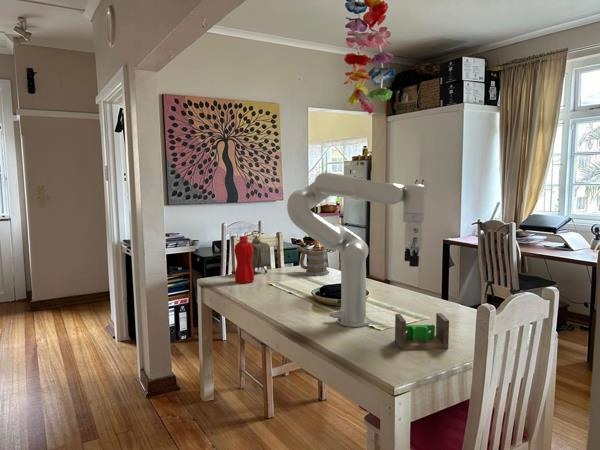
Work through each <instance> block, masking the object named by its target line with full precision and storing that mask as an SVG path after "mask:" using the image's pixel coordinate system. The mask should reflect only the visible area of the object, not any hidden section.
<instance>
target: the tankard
mask: <svg viewBox="0 0 600 450" xmlns="http://www.w3.org/2000/svg"><path fill="white" fill-rule="evenodd" d="M296 251H297V252H299V251H300V252H301V254H300V258H299V265H300V268H301V269H303V270H305V274H306V275H308V276H313V277H320V276H322V277H323V276H326V275H329V274H330V271H329V270H328V269H327V268H328V266H329V265H328V264H329V263H328V262H327V259H328V257H329V256H328V253H327V250H326V248H310V249H306V248H305V249H304V248H303V247H301V246H299V247H296ZM305 257H306V259H307V262H306V265H305V264H304V262H305Z"/></svg>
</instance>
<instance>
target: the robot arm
mask: <svg viewBox="0 0 600 450" xmlns="http://www.w3.org/2000/svg"><path fill="white" fill-rule="evenodd" d="M329 197H335V198H336V197H337V198H338V197H339V198H342V199H343V198H344V199H345V198H346V199H350V200H357V201H363V202H364V201H366V202H370V203H378V204H384V205H391V206H392V205H397V204H399V203H403V204H402V222H403V223H405V224H404V235H403V236H404V241H403V242H404V246H405V247H404V262H409V264H408V265H409V267H411V268H412V267H414V268H415V267H416V268H417V267H419V266H420V250H422V249H423V224H422V223H424V221H425V220H424V219H425V202H426V200H425V199H426V187H425V185H424V184H419V183H418V184H417V183H411V184H410V183H409V184H408V183H407V184H401V183H397V182H393V183H389V182H383V181H377V180H369V179H368V180H367V179H365V178H363V177H360V176H355V175H354V176H353V175H345V174H338V173H332V172H322V173H319V174H318V175H317V176H316V177H315V179H314V181H313V182H312V183H311V184H309V185H308V186H307V187H304V189H303V188H302V189H299V190H295V191H293V192H292V193H291V194H290V195H289V196H288V200H287V203H286V204H287V205H286V206H287V207H286V209H287V214H288V217H289V219H290V220H291V221H292V223H293V224H294V225H295V226H296V227H297V228H299V229H300V230H301V231H302V232H304V233H306V235H308V236H309V237H310V238H311V239H313V240H314V241H316V242H317V243H319V244H320V245H321V246H322V247H324V249H327V250H331V251H332V250H336V251H338V252H339V253H340V254H339V255H340V257H339V258H340V259H339V260H340V261H339V263H340V276H341V277H340V279H341V280H340V283H341V286H340V287H341V288H340V289H341V291H340V294H341V296H340V297H341V299H340V300H341V302H340V305H341V308H339V310H337V311H329V317H330V318H332V317H333V319H337V321H336V322H337V324H339V325H341V326H344V327H348V328H361V327H365V326H368V325H369V324H370V322H371V319H370V318H369V317H368V316H367V268H366V267H367V266H366V261H367V257H368V255H369V251H370V250H369V246H368V244H367V243H366V242H365V241H364V240H363V239H362V238H361V237H359V236H358V235H356V234H355V233H353V232H352V231H350V230H349V229H348V228H347V227H345V226H343V225H342V224H339V223H336V222H335V223H330V222H329V221H326V220H325V219H324V218H323V217H321V216H320V215H318V214H317V213H315V212H314V211H313V210H311V209H313V208H315V207H316V206H318V205H319V204H320V203H322V202H324V201H326V199H328V198H329Z"/></svg>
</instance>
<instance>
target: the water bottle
mask: <svg viewBox="0 0 600 450" xmlns="http://www.w3.org/2000/svg"><path fill="white" fill-rule="evenodd" d="M251 243H252V242H249V237H248V236H247V235H240V236H239V242H237V243H236V244H235V245H234V250H233V251H234V255H235V260H236V267H235V272H234V280H235V282H236V283H239V284H247V283H248V284H250V283H253V282H254V281H255V273H254V270H253V267H252V256H253V251H254V250H253V246H252V244H251Z"/></svg>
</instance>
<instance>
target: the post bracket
mask: <svg viewBox="0 0 600 450" xmlns="http://www.w3.org/2000/svg"><path fill="white" fill-rule="evenodd" d="M394 316H395V318H394V320H395V321H394V325H395V326H394V328H395V329H394V342H395V343H396V344H397V346H398V347H399V349H400V350H433V349H434V350H437V349H439V350H442V349H444V350H447V349H449V340H450V320H449V319H448V318H447V317H446V316H445V315H444V314H443V313H441V312H436V315H435V318H436V320H435V338H429V339H428V341H425V340H415V342H413V341H412V340H411V339H406V333H407V331H406V325H407V320H406V319H405V318H404V317H403V316H402V315H401V313H395V315H394Z"/></svg>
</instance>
